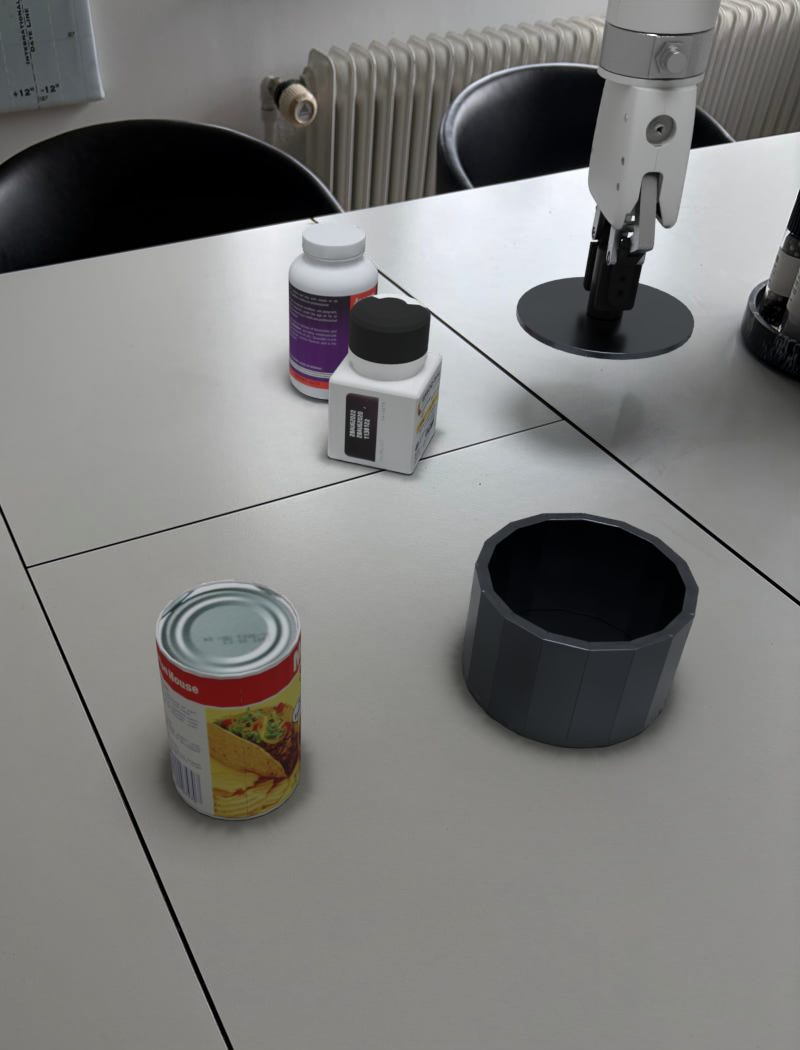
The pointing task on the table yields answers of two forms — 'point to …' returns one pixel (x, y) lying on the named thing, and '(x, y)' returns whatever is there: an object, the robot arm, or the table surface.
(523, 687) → the tin
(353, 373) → the container
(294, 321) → the pill bottle
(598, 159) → the robot arm
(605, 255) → the tin lid
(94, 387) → the table surface
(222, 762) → the canned food
